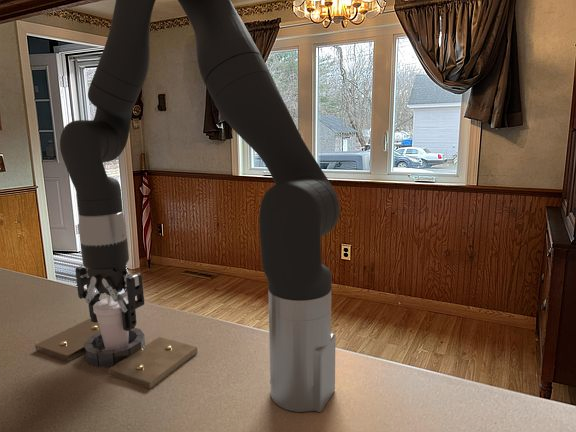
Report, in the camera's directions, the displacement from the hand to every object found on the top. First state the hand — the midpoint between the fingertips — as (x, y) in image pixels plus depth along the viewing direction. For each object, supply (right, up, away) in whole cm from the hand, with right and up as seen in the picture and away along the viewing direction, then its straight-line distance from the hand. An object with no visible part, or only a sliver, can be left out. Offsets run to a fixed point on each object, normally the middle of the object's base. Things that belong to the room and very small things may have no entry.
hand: (113, 324), depth 77 cm
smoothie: (0, -6, +1) cm, 6 cm away
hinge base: (0, -5, +1) cm, 5 cm away
